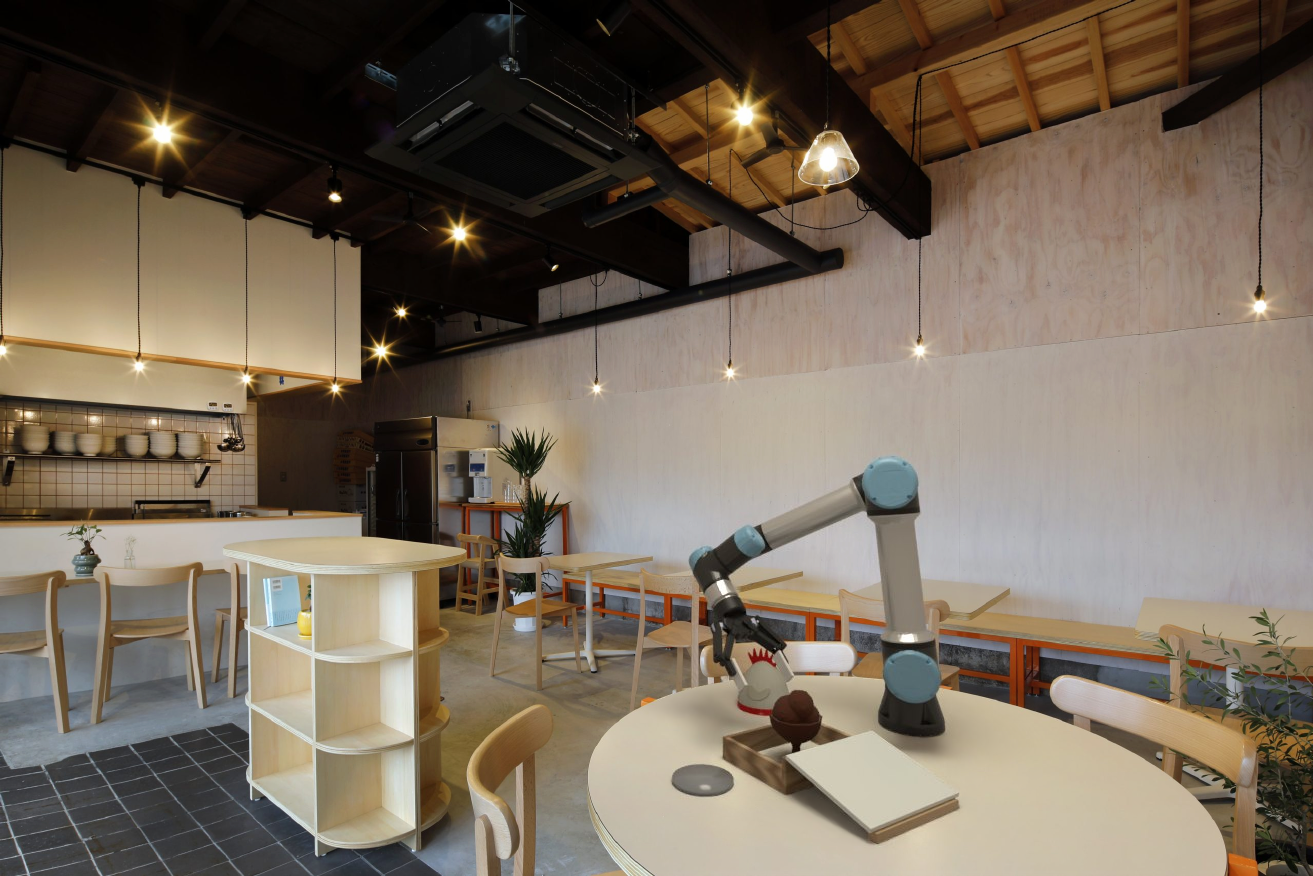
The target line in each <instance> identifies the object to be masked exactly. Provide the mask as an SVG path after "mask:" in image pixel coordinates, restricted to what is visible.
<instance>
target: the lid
mask: <svg viewBox="0 0 1313 876" xmlns="http://www.w3.org/2000/svg"><path fill="white" fill-rule="evenodd" d="M785 756H786V760H787V761H788V762H789V763H790V764H791V765H792V766H794V767H795V768H796V769H797V770H798V771H799V772H800V773H802V774H803V775H804V776H805V777H806V778H807V779H808V780H809V781H811V782H812V783H813V784H814V786H815V787H816V788H818V789H819V790H820V792H822V793H823V794H824V795H825V796H826V797H828V798H829V799H830V800H831V801H832V802H833V803H835V805H837V806H838V807H839V808H840V809H841V810H843V812H845V813H846V814H847V815H848V816H849V817H850V818H851V819H852V820H854V822H856V823H857V824H858V825H860V826H861V828H863V829H864V830H865V831H866V832H867V833H866V835H867V836H866V837H867V838H866V839H868V840H870V841H871V842H873V843H875V844H877V845H879V844H881V843H883V842H885V841H888V840H890V839H892V838H894V837H897V836H898V835H901V834H904V833H906V832H909V831H910V830H913V829H916V828H918V827H919V826H922V825H924V824H926V823H929V822H931V821H933V820H935V819H938V818H940V817H943V816H945V815H947V814H949V813H952V812H954V811H956V810H958V809H959V807H960V806H959V805H960V804H959V801H960V800H959V799H958V797H959V796H960V791H959V790H957V789H956V788H954V787H953V786H951V785H950V784H948V782H947V783H946V781H944V780H942V779H941V778H940V777H938V776H936V775H935V774H934V773H933V772H931V771H930V770H928V769H927V768H926V767H924V766H923V765H921V764H920V763H918V762H917V761H916V760H914V759H913V758H911V756H909V755H907V754H906V753H904V752H903V751H901V750H900V749H899V748H897V747H896V746H894V744H891V742H888V741H887V740H886V739H884V738H883V737H881V736H880V735H879V734H877V732H875V731H873V730H868V731H865V732H862V733H858V734H855V735H852V736H851V737H847V738H844V739H841V740H837V741H834V742H830V743H827V744H823V745H817V746H814V747H811V748H806V749H804V750H800V751H799V752H796V753H793V754H791V753H789V754H786V755H785Z"/></svg>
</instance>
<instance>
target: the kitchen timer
mask: <svg viewBox="0 0 1313 876" xmlns="http://www.w3.org/2000/svg"><path fill="white" fill-rule="evenodd" d="M763 654H764V655H763ZM747 655H748V658H749V660H750V662H751V665H750V667H749V668H748V669H747V670H746V672H745V673H743V676H744V678H745V680H746V682H747V684H748V685H747V686H746V688H745V689H744V690H743V691H742V692H739V691H738V693H737V708H738V709H739V710H740V711H743V712H744V713H747V714H750V715H756V716H762V717H769V715H770V713H771V711H772V710H773V707H774V704H775V702H776V701H777V699H779V698H780V697H781V696H784V695H789V694H790V690H789V688H788V684H787V682H786V681H785V679H784V678H783V676H782V674H781V672H780V670H779V668H778V667H777V665H776V663H775V662H774V661H773V660H774V659H773V656H774V654H772V653H771V655H770V656H769V651H768V650H766V649H765V651H764V653H763V647H762V648H760V649H759V652H758V653H757V651H756V648H755V647H754V648H753V649H752V654H751V653H750V652H749V651H748V652H747Z"/></svg>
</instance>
